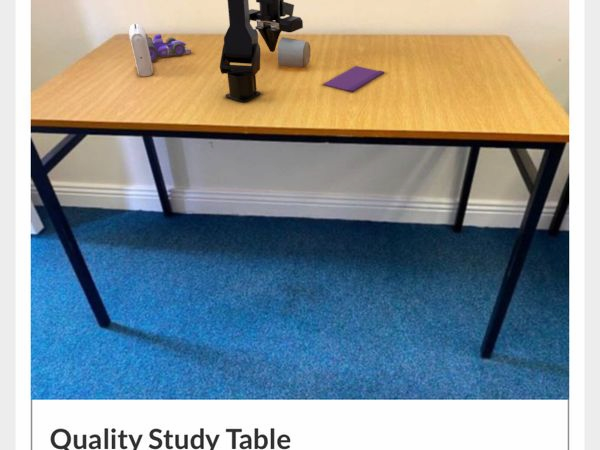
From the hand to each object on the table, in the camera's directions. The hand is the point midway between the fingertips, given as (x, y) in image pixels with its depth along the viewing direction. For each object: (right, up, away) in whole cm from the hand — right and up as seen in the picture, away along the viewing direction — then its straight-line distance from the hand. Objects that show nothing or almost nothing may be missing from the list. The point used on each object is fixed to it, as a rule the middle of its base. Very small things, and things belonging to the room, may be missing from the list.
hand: (272, 51), depth 138 cm
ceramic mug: (+7, -5, -2) cm, 8 cm away
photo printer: (-36, -7, -3) cm, 37 cm away
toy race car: (-34, +1, +7) cm, 35 cm away
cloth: (+22, -12, -12) cm, 28 cm away
